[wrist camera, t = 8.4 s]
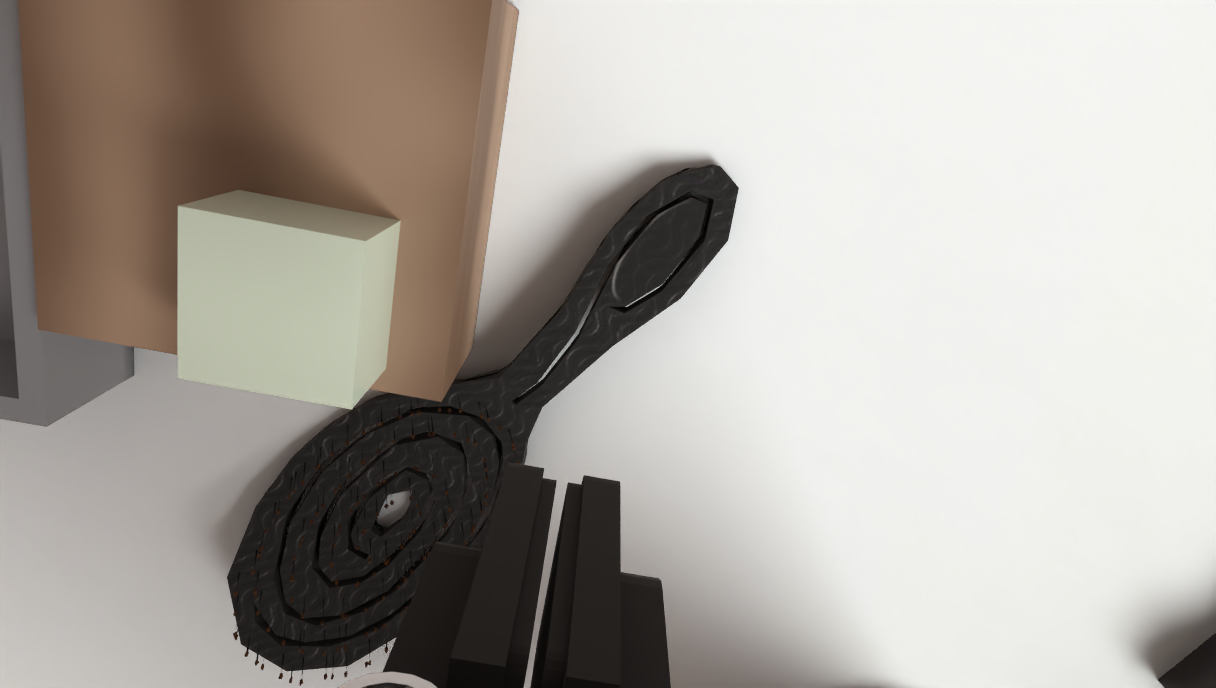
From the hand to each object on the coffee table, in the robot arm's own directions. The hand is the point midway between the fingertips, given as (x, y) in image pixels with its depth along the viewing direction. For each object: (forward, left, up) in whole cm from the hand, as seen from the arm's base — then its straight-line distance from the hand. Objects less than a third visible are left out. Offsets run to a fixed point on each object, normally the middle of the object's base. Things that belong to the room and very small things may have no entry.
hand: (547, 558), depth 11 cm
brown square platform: (+10, -3, -16) cm, 19 cm away
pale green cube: (+8, 0, -11) cm, 14 cm away
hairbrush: (+3, +6, -17) cm, 18 cm away
